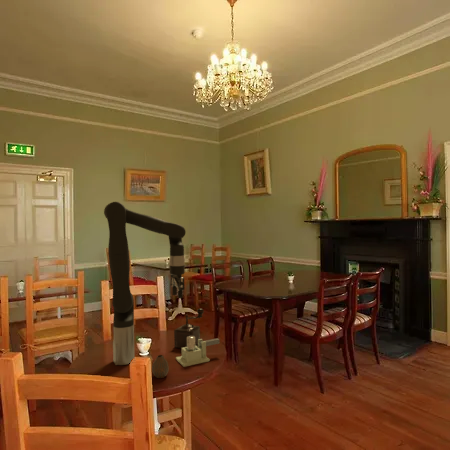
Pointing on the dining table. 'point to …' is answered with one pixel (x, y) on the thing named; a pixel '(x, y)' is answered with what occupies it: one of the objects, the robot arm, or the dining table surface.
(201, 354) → the dock
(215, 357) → the dining table surface
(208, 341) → the pin
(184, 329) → the dark piece
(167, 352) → the dining table surface
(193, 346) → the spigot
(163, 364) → the vase
